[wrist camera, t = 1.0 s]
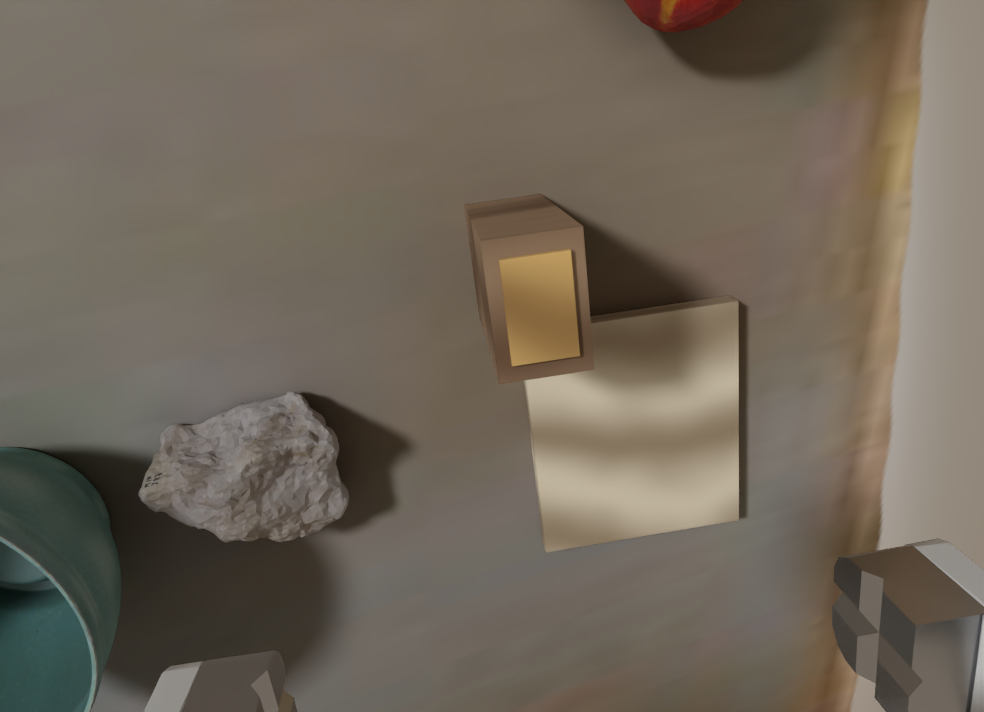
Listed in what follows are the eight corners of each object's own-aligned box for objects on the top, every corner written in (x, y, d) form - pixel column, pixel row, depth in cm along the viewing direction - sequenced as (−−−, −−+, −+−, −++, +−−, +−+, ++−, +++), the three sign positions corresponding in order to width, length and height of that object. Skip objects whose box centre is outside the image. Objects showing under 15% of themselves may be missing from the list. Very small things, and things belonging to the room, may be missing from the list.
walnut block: (464, 204, 36) (481, 242, 27) (540, 193, 37) (584, 227, 27) (479, 315, 39) (500, 386, 29) (551, 304, 39) (595, 371, 29)
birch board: (517, 327, 39) (520, 334, 38) (729, 295, 40) (738, 301, 38) (542, 540, 44) (546, 552, 43) (730, 509, 45) (738, 519, 43)
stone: (186, 523, 41) (151, 588, 36) (157, 396, 38) (114, 444, 33) (356, 507, 42) (348, 568, 37) (340, 381, 39) (328, 426, 34)
